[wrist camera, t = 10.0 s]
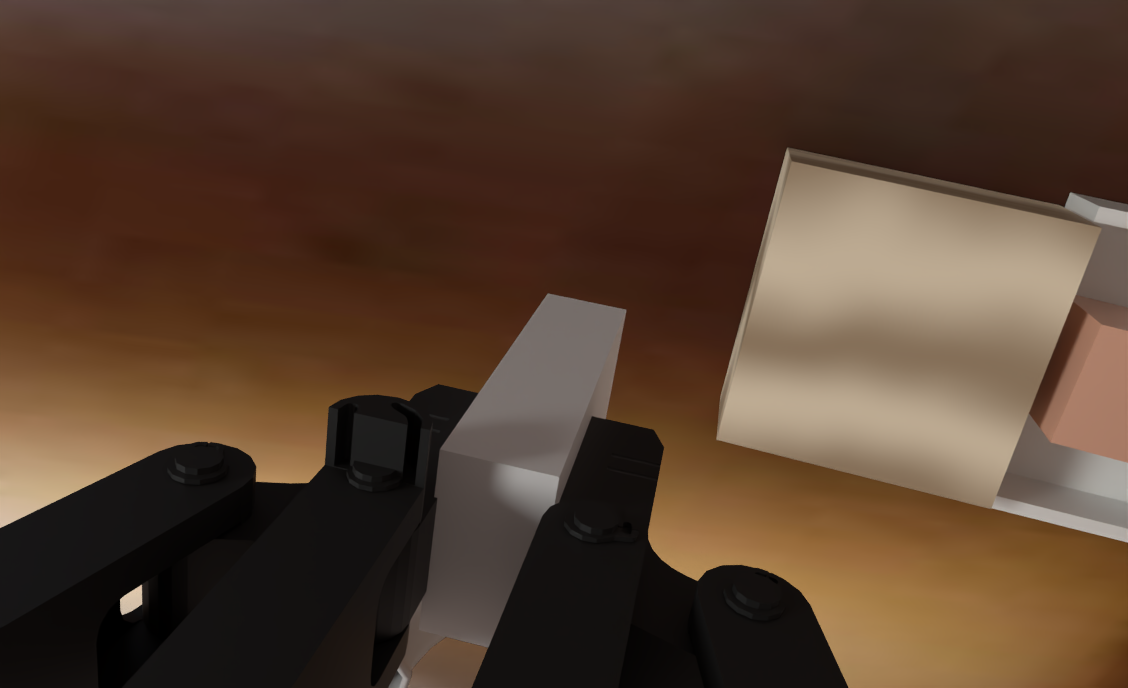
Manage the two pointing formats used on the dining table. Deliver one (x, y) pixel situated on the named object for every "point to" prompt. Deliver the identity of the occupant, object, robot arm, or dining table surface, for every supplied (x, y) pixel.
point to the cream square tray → (900, 325)
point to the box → (1062, 474)
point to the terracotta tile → (1088, 382)
